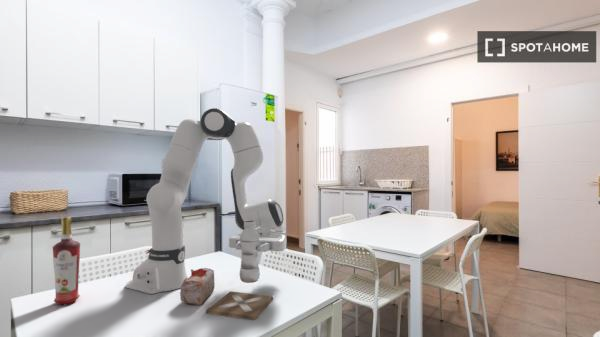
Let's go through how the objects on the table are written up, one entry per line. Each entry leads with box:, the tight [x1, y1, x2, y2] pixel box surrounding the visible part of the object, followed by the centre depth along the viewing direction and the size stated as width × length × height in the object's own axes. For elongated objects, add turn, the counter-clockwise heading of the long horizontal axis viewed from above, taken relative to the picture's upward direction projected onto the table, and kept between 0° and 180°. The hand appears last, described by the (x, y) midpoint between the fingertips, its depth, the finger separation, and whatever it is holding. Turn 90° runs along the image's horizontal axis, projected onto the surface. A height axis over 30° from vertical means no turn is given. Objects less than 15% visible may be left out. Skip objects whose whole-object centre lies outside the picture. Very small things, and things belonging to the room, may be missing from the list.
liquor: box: [52, 216, 81, 306], centre depth 104 cm, size 7×7×28 cm
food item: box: [179, 267, 216, 306], centre depth 107 cm, size 14×8×10 cm, turn 177°
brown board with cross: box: [205, 291, 274, 321], centre depth 101 cm, size 16×15×1 cm
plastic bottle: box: [238, 221, 261, 284], centre depth 105 cm, size 6×7×20 cm
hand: (248, 248), depth 104 cm, fingers closed on plastic bottle, 6 cm apart
